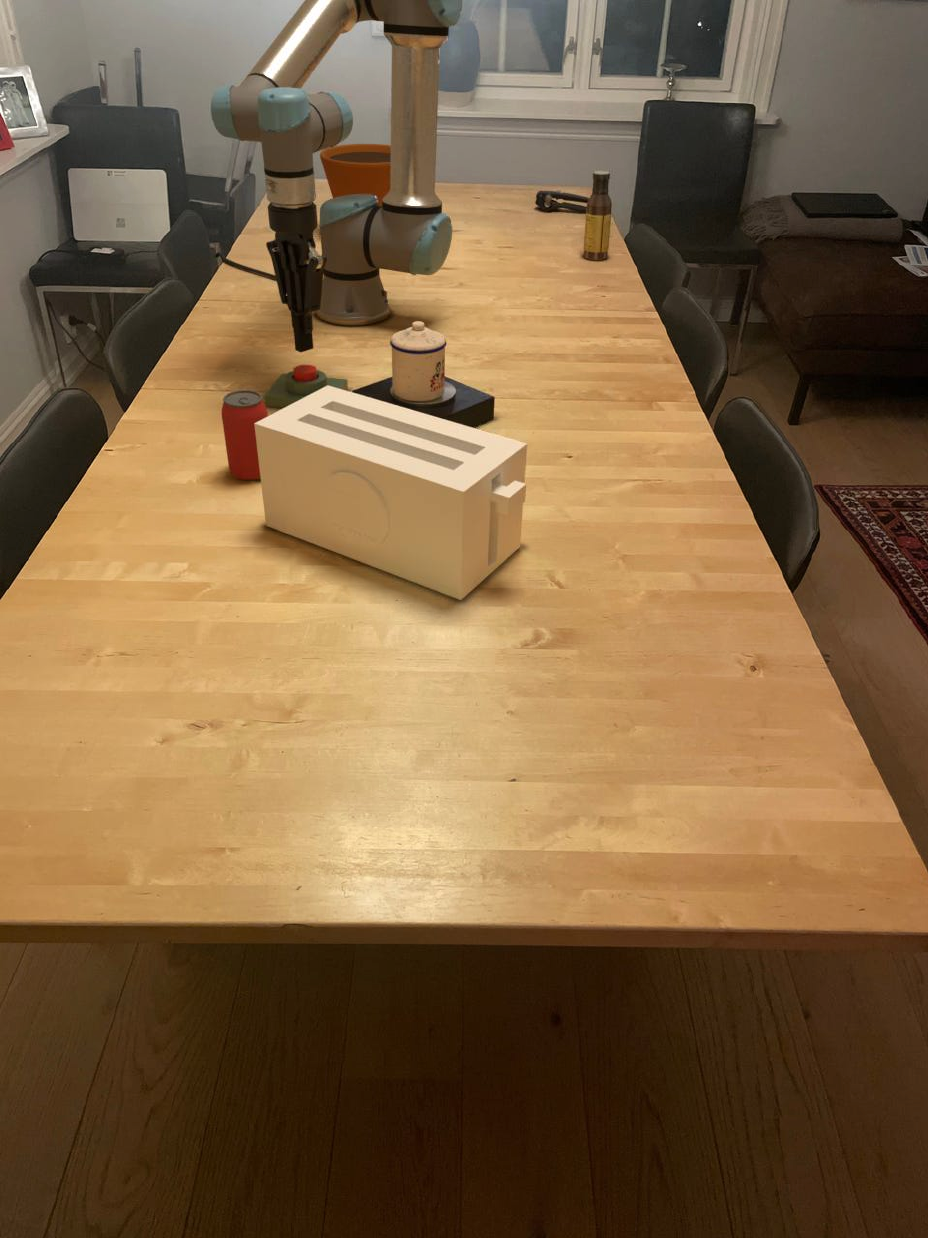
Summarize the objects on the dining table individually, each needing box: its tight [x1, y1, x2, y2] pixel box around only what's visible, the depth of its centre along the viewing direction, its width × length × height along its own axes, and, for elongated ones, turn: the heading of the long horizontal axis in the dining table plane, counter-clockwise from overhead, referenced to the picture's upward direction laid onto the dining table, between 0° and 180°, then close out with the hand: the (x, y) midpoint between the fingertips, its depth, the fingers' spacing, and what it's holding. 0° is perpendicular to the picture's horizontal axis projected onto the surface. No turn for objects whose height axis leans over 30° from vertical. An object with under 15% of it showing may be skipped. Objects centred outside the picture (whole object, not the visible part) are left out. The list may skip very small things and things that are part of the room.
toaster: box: [254, 385, 528, 601], centre depth 126 cm, size 35×16×15 cm, turn 58°
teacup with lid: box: [389, 320, 447, 401], centre depth 158 cm, size 12×9×12 cm
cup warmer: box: [351, 375, 496, 428], centre depth 162 cm, size 18×16×5 cm
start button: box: [292, 364, 318, 382], centre depth 165 cm, size 4×4×2 cm
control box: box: [263, 369, 349, 409], centre depth 167 cm, size 12×10×4 cm
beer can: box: [220, 389, 269, 481], centre depth 142 cm, size 7×7×12 cm
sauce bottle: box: [583, 170, 613, 261], centre depth 235 cm, size 6×6×20 cm
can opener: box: [534, 189, 590, 214], centre depth 276 cm, size 18×7×6 cm, turn 80°
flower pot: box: [319, 143, 391, 206], centre depth 246 cm, size 24×24×20 cm
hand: (304, 349), depth 163 cm, fingers closed
